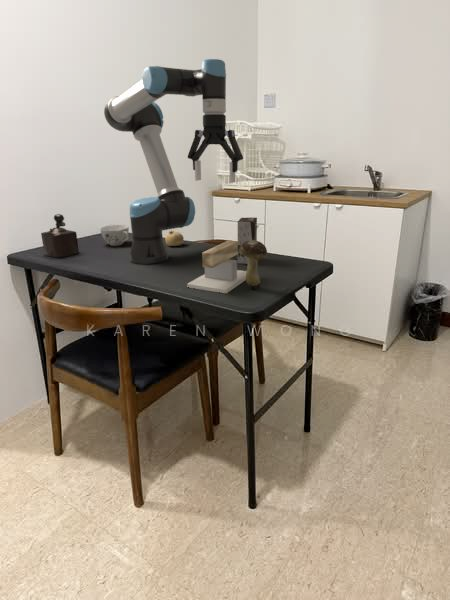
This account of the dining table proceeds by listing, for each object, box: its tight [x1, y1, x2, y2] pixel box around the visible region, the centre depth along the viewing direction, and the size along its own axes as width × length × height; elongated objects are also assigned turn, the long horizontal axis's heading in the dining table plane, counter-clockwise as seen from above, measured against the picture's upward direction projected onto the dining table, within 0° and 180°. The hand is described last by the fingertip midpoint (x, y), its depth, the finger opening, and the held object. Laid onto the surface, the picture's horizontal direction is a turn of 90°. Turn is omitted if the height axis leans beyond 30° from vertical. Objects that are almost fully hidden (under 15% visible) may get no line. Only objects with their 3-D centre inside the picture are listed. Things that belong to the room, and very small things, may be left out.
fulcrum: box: [186, 259, 247, 294], centre depth 138 cm, size 14×20×7 cm
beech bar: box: [201, 239, 238, 268], centre depth 136 cm, size 4×18×4 cm, turn 153°
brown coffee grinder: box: [40, 213, 80, 259], centre depth 172 cm, size 16×11×18 cm
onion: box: [164, 229, 184, 247], centre depth 186 cm, size 8×8×7 cm
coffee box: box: [237, 217, 258, 265], centre depth 159 cm, size 9×6×16 cm
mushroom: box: [240, 240, 268, 290], centre depth 129 cm, size 9×9×15 cm
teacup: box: [99, 224, 130, 247], centre depth 189 cm, size 15×12×8 cm
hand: (214, 181), depth 144 cm, fingers open, 13 cm apart
